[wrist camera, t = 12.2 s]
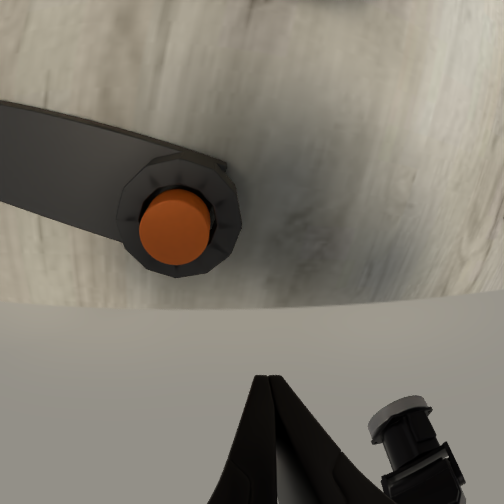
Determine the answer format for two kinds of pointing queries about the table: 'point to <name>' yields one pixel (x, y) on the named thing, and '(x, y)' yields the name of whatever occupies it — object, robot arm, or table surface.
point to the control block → (109, 180)
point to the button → (175, 227)
